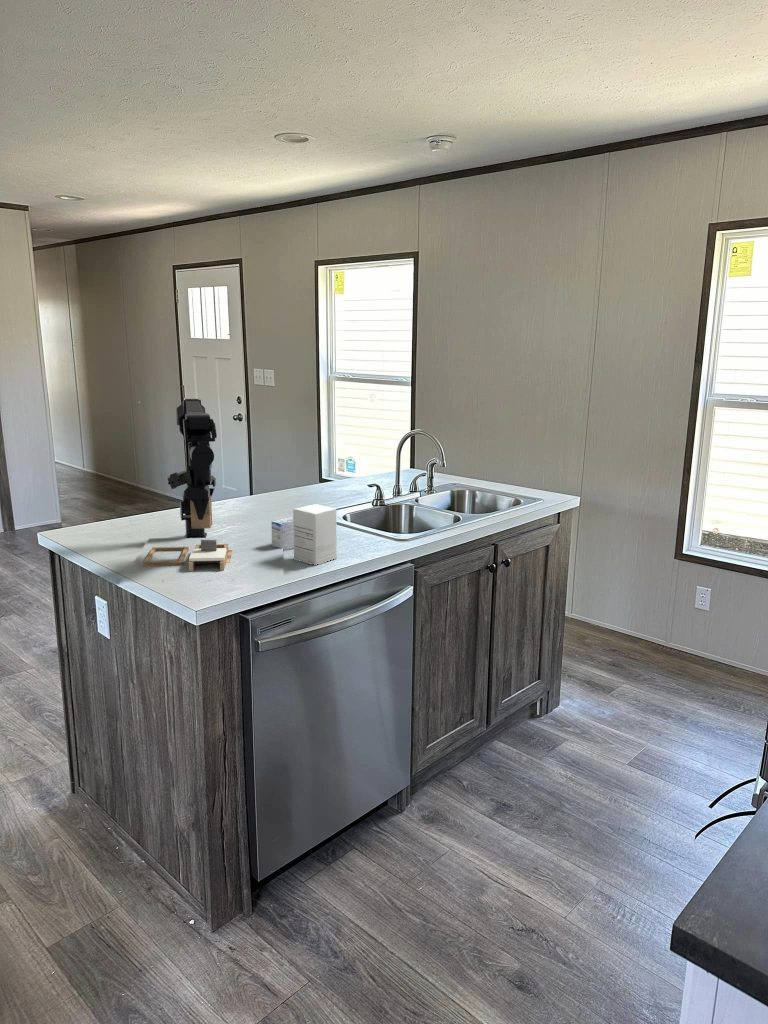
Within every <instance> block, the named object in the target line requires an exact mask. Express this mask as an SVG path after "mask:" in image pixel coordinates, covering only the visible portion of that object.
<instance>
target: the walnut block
mask: <svg viewBox="0 0 768 1024" xmlns="http://www.w3.org/2000/svg"><path fill="white" fill-rule="evenodd" d="M190 507H191V529H204V528H205V529H211V528H212V526H213V509H212V508H213V507H212V497H211V496H210V499H209V502H208V505H207V508H206V511H205V514H204V517H203V519H202V520H199V519H198V516H197V513H196V510H195V506H194V503H193V502H192V501H191V500H190Z"/></svg>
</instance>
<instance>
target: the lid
mask: <svg viewBox="0 0 768 1024" xmlns="http://www.w3.org/2000/svg"><path fill="white" fill-rule="evenodd" d="M217 544H218V543H217V539H201V541H200V545H201V549H195V548H192V549H191V553H190V554H189V558H188V562H189V561H224V559H225V555H226V548H217Z"/></svg>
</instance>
